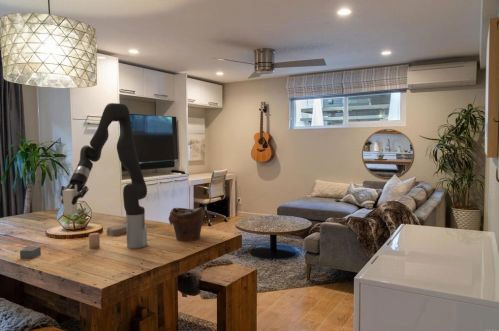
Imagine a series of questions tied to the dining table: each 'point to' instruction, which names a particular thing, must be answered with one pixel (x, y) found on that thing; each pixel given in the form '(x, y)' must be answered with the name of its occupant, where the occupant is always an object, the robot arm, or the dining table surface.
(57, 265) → the dining table surface
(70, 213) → the tall cream block
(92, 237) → the pink rounded pebble
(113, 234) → the brick
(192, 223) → the dark brown pot
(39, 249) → the grey squat block
